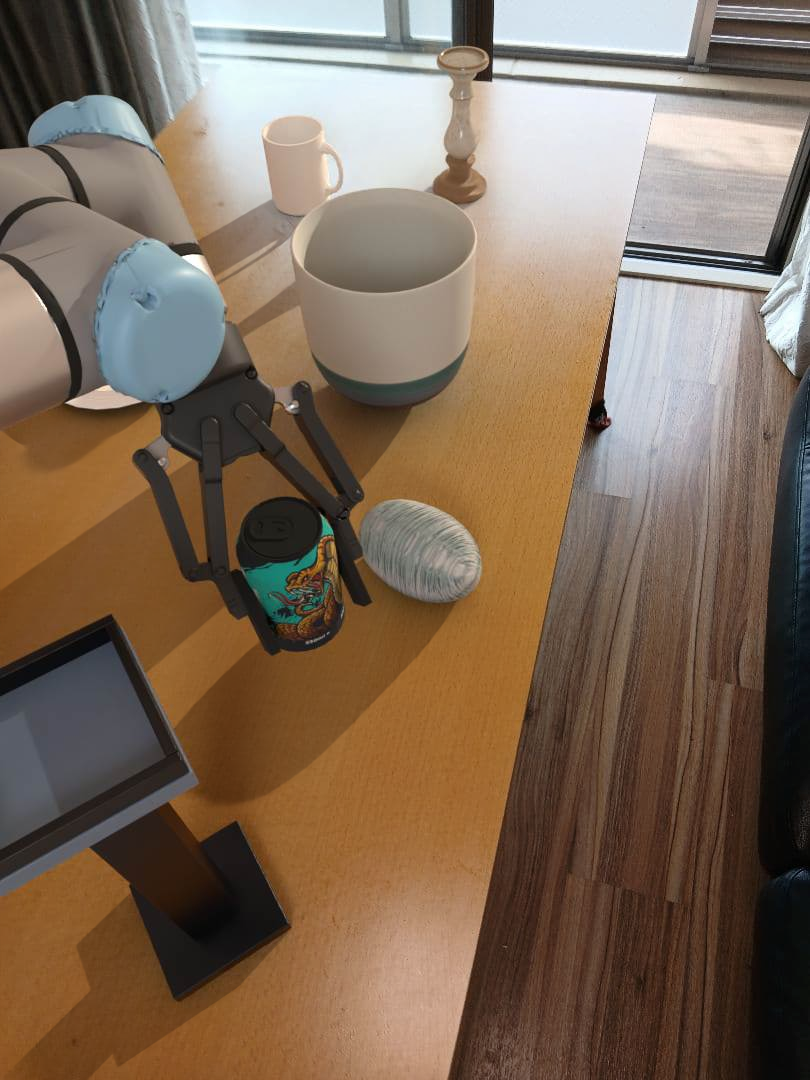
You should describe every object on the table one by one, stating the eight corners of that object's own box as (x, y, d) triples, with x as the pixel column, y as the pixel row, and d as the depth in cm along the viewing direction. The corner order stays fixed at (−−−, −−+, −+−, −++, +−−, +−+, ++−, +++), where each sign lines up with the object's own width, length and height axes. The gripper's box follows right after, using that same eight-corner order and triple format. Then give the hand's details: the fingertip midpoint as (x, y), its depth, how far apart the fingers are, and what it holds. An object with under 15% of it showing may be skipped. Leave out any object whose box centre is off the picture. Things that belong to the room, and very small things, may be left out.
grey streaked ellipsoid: (347, 561, 90) (334, 553, 80) (391, 487, 91) (383, 470, 81) (454, 624, 89) (454, 623, 79) (497, 549, 89) (503, 539, 79)
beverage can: (343, 657, 64) (327, 568, 54) (254, 656, 64) (223, 568, 54) (348, 583, 68) (335, 488, 58) (265, 582, 68) (238, 488, 59)
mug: (277, 186, 136) (265, 115, 127) (348, 185, 136) (342, 113, 126) (270, 218, 130) (257, 146, 121) (345, 217, 130) (338, 144, 121)
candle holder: (497, 187, 134) (505, 54, 118) (462, 210, 130) (465, 75, 114) (457, 169, 138) (460, 38, 121) (422, 190, 134) (419, 58, 118)
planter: (284, 413, 103) (254, 266, 86) (358, 320, 114) (344, 173, 97) (431, 461, 97) (429, 314, 80) (494, 358, 108) (504, 209, 91)
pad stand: (178, 1002, 64) (-28, 880, 35) (133, 889, 69) (-79, 703, 41) (292, 928, 67) (185, 760, 38) (240, 825, 72) (112, 610, 44)
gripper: (296, 300, 63) (412, 564, 68) (45, 398, 57) (190, 681, 62) (321, 275, 56) (449, 570, 61) (38, 383, 50) (202, 703, 55)
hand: (318, 626), depth 61 cm, fingers closed on beverage can, 7 cm apart
